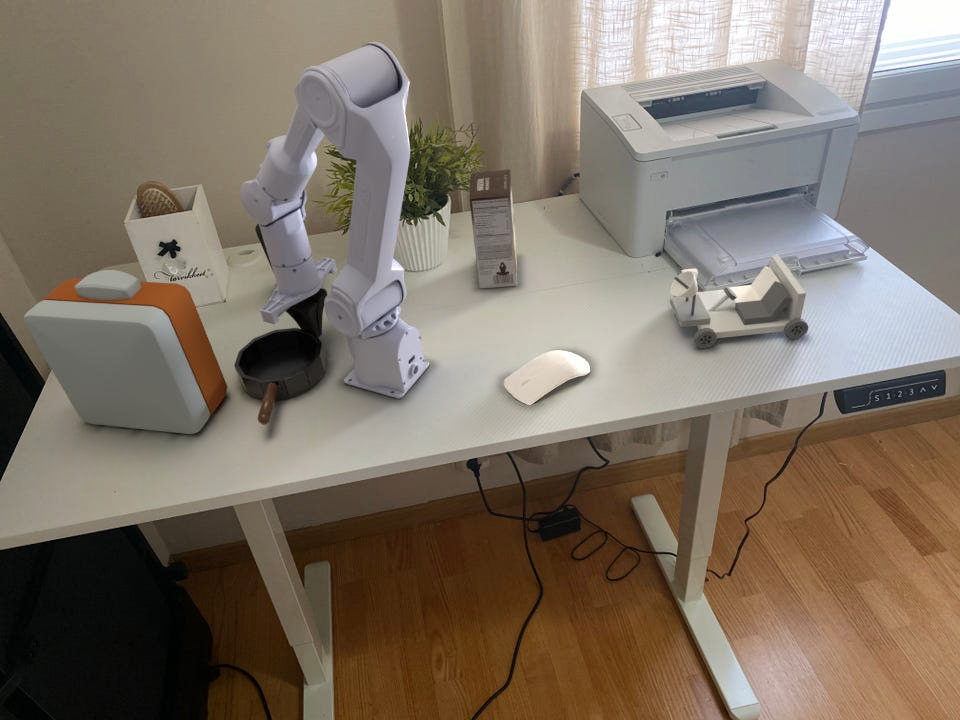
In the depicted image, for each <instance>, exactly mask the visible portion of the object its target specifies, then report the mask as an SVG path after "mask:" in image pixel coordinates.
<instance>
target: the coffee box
mask: <svg viewBox="0 0 960 720" xmlns="http://www.w3.org/2000/svg"><path fill="white" fill-rule="evenodd" d="M513 196H514V195H513V183H512V171H511V169H509V168H508V169H500V170H499V169H498V170H487V171H486V170H485V171H480V172H472V173H470V181H469V207H470V216H471V226H472V234H473V245H474V253H475V261H476V262H475V263H476V270H477V271H476V272H477V280H478V281H477V282H478V287H479V289H494V288H507V287H517V286H518V262H517V242H516V241H517V239H516V225H515V211H514V210H515V209H514V199H513V198H514V197H513Z"/></svg>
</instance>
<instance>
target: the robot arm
mask: <svg viewBox="0 0 960 720" xmlns="http://www.w3.org/2000/svg"><path fill="white" fill-rule="evenodd" d="M403 69H404V68H403V67H402V65H401V64H400V62H399V60H398V59H397V57H396V56H395V54H394V52H392V50H391V49H390V48H388V47H387V46H386V45H384V44H383V43H381V42H378V41H369V42H367V43H365V44H363V45H362V46H361V47H359V48H357V49H354V50H352V51H350V52H347V53H345V54H342V55H340V56H338V57H334V58H333V59H330V60H328V61H326V62H323V63H320V64H318V65H312V66H308V67H307V68H305V69H303V71H302V72H301V74H300V75H299V79H298V82H297V84H296V85H295V86H294V88H293V91H294V96H295V99H296V102H297V103H296V106H295V108H294V111H293V114H292V117H291V119H290V123H289V125H288V128H287V131H286V134H284V135H279V136H276V137H274V138H271V139H270V140H268V141H267V143H266V146H265V148H266V149H267V152H266V154H265V156H264V159H263V161H262V162H261V163H259V165H258V167H257V171H258V172H257V173H256V177H255V178H254V179H252V180H246V181H244V182H242V183H241V184H240V191H239V197H240V201H241V204H242V206H243V208H244V210H245V211H246V213H247V215H248V216H249V217H250V218H251V219H252V220H253V221H254V222H255V223H257V224H259V227H260V230H261V233H262V237H263V240H264V243H265V246H266V250H267V253H268V256H269V259H270V262H271V266H272V268H271V270H272V269H273V271H272V273H273V272H274V273H273V275H274V279H275V280H274V281H273V284H274V287H276V288H275V289H274V291H273V292H272V294H271V296H270V297H269V299H268V300H267V302H266V304H264V306H263V307H262V308H260V310H259V311H260V315H261V317H262V320H263V322H264V323H267V324H272V325H276V324H278V322H279V321H280V317H281V316H282V315H283V314H284V313H285V312H286V313H287V314H288V315H289V316H290V317H291V318H292V319H293V321H295V323H296V324H297V325H298V327H299V329H303V330H307V331H311V332H313V333H315V334H316V336H317V337H318V338H319V339H320V337H321V336H322V335H323V316H324V314H325V316H326V318H327V320H328V321H329V323H330V324H331V326H332V327H333V328H334V329H335V330H336V331H337V332H339V333H340V334H342V335H344V336H345V337H346V340H347V341H346V342H347V344H348V348H349V352H350V356H351V361H352V365H353V369H352V370H351V371H350V372H349V373H348V374H347V375H346V376H345V377H344V379H343V383H344V384H345V385H350V386H352V387H357V388H359V389H363V390H366V391H370V392H374V393H377V394H381V395H384V396H387V397H392V398H395V399H402V398H403V397H404V396H405V394H407V392H408V391H409V390H410V389H411V388H412V386H413V385H414V384H415V383H416V381H418V380H419V378H420V377H421V376H422V374H423V373H424V372H425V371H426V370H427V369H428V367H429V366H430V362H429V361H427V360H426V359H425V352H424V347H423V341H422V335H421V333H420V330H419V329H418V328H417V327H415V326H414V325H410V324H409V323H408V322H405V321H404V320H403V319H402V318H401V317H400V316H399V315H400V314H401V313H402V309H401V304H402V303H403V302H405V300H406V298H407V288H406V285H405V280H404V278H405V277H404V275H405V268H404V267H403V266H402V265H401V264H400V263H399V262H398V261H397V259H395V258H394V257H395V256H394V255H395V249H396V243H397V237H398V231H399V226H400V225H399V224H400V219H401V213H402V207H403V200H404V194H405V189H406V182H407V177H408V170H409V164H410V158H411V146H410V138H409V130H408V124H407V117H406V109H407V102H408V98H409V97H408V96H409V88H410V84H411V83H410V79H409V78H408V76H407V75H406V73H405V71H404V70H403ZM325 137H326V139H328V141H329V142H330V143H331V144H332V146H333V147H334V148H335V149H336V150H337V151H338V153H339V154H340V155H341V156H342V157H343V158H344V159H350V160H355V162H356V163H355V173H354V182H353V183H354V184H353V192H352V194H353V195H352V202H351V213H350V223H349V231H348V232H349V233H348V243H347V255H346V263H345V265H344V266H343V267H342V269H341V270H340V272H339V273H338V274H337V276H336V277H335V278H334V280H333V281H332V282H331V285H330V291H329V293H328V292H327V290H326V289H325V288H322V286H323V285H324V282H325V281H326V278H327V277H328V275H330V274H331V275H333V274H335V273H336V272H337V271H338V268H337V264H336V259H334V258H329V257H323V258H322V259H320V260H318V261H317V262H315V259H314V256H313V255H314V254H313V251H312V248H311V244H310V241H309V237H308V233H307V229H305V228H306V224H305V225H304V222H305V219H306V217H307V214H306V209H305V205H306V203H307V191H306V189H305V188H306V186H307V184H308V183H309V181H310V179H311V177H312V176H313V173H314V172H315V170H316V169H317V165H318V158H317V154H316V152H315V150H316V149H317V147H318V146H319V145H320V143H321V141H322V140H323V139H324V138H325ZM303 221H304V222H303ZM271 266H270V267H271ZM324 312H325V313H324Z"/></svg>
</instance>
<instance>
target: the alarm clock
mask: <svg viewBox="0 0 960 720" xmlns="http://www.w3.org/2000/svg"><path fill="white" fill-rule="evenodd" d="M23 321H24V325H25V326H26V329H27V330H28V332H29V333H30V335H31V337H32V338H33V341H34V342H35V343H36V345H37V347H38V350H40V352H41V354H42V355H43V357H44V359H45V361H46V362H47V364H48V366H49V368H50V369H51V371H52V373H53V374H54V376H55V378H56V380H57V381H58V383H59V385H60V386H61V388H62V390H63V392H64V393H65V395H66V396H67V398H68V400H69V401H70V404H71V405H72V407H73V408H74V410H75V412H76V414H77V415H78V417H79V419H81V420H82V421H83V422H85V423H88V424H90V425H100V426H108V427H118V428H128V429H137V430H147V431H155V432H166V433H167V432H168V433H177V434H184V435H185V434H186V435H193V434H197V433H199V432H200V431H201V430H202V429H203V427H204V426H205V424H206V423H207V422H208V421H209V419H210V417H211V416H212V415H213V413H214V412H215V411H216V410H217V408H218V407H219V405H220V404H221V403H222V401H223V400H224V399H225V397H226V396H227V394H228V393H227V392H228V384H227V381H226V378H225V377H224V374H223V371H222V369H221V367H220V364H219V362H218V359H217V357H216V354H215V352H214V349H213V347H212V344H211V341H210V339H209V337H208V334H207V332H206V328H205V327H204V324H203V322H202V319H201V317H200V314H199V311H198V309H197V307H196V304H195V301H194V299H193V297H192V294H191V292H190V291H189V290H188V288H187V287H186V286H184V285H182V284H179V283H174V282H155V281H154V282H153V281H140V280H139V278H137V277H136V276H134V275H132V274H130V273H127V272H124V271H121V270H116V269H104V270H99V271H94V272H92V273H90V274H87V275H85V276H84V277H83V278H78V277H77V278H76V277H75V278H74V277H72V278H68V279H66V280H64V281H63V282H61V283H60V284H59V285H57V287H55V288H54V289H53V290H52V291H50V292H49V293H48V294H47V295H46V296H45V297H44V298H42V299H41V300H40V301H39V302H38V303H36V304H35V305H34V306H33V307H32V308H30V309H29V310H28V311H27V312H26V313H24V317H23Z"/></svg>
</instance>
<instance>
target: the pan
mask: <svg viewBox="0 0 960 720" xmlns="http://www.w3.org/2000/svg"><path fill="white" fill-rule="evenodd" d="M327 362H328V358H327V355H326V352H325V348H324V344H323V341H322V340H321V339H320V337H319V338H318V337H317V336H316V334H315V333H313V332H311V331H307V330H303V329H301V328H300V327H299V328H298V327H291V328H282V329H280V328H279V329H274V330H271V331H269V332H266V333H264V334H261V335H259V336H257V337H254V338H252V339H251V340H250V341H249V342H248V343H247V344H245V345H244V346H243V347H242V348H241V349H240V350H239V351H238V353H237V355H236V359H235V361H234V365H233V367H234V369H235V372H236V375H237V377H238V380H239V382H240V384H241V385H242V387H243V389H244V391H245V392H246V393H247V394H248V395H249V396H250V397H252V398H253V399H257V400H261V405H260V408H259V411H258V415H257V421H258V423H259V424H260V425H268V423H270V421H271V418H272V414H273V410H274V406H275V402H277V401H284V400H290V399H292V398H296V397H298V396H301V395H303V394H305V393H307V392H308V391H310V390H311V389H313V388H314V387H315V386H317V385H318V384H319V383H320V382H321V380H322V379H323V377H324V376H325V373H326V372H327V368H328V364H327Z"/></svg>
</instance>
